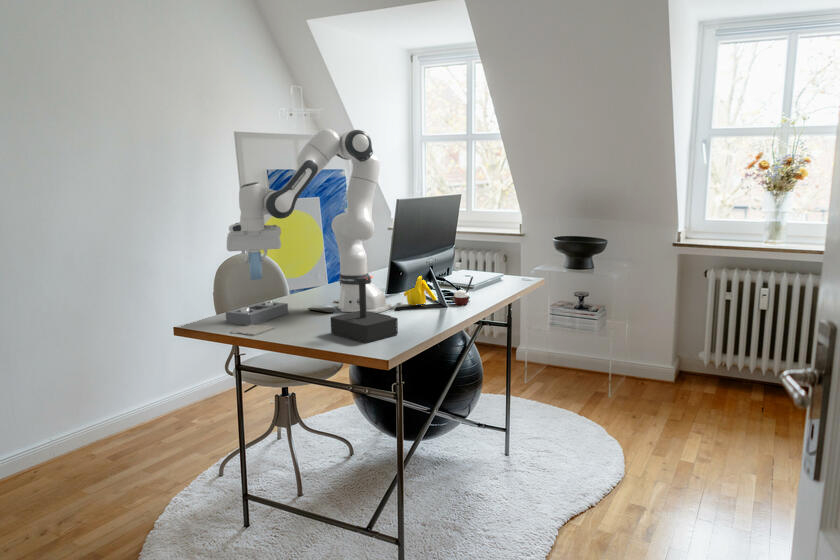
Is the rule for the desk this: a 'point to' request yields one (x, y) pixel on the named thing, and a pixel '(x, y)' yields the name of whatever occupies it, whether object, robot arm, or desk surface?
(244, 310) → the plunger
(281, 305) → the housing
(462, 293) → the cocoa
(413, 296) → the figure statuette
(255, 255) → the cartridge
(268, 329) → the mat
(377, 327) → the black post stand
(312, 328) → the desk surface
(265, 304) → the plunger
